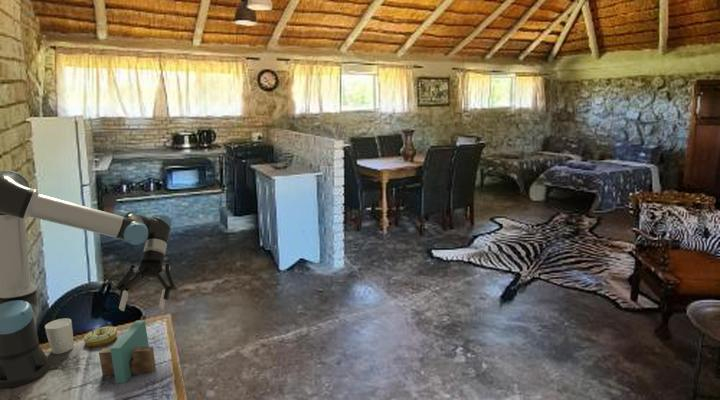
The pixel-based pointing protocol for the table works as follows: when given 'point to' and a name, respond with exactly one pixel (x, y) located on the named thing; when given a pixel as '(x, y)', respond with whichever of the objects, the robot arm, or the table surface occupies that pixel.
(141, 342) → the teal upright panel
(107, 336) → the decorated donut
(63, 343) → the white cup
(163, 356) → the table surface
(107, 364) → the walnut slotted plate
